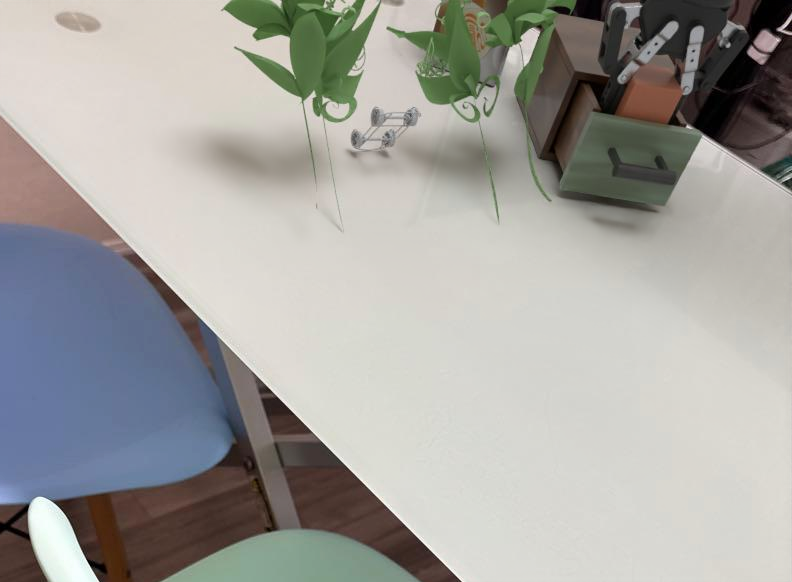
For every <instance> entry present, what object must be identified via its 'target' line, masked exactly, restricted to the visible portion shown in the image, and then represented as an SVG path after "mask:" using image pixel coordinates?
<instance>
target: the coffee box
mask: <svg viewBox="0 0 792 582" xmlns="http://www.w3.org/2000/svg"><path fill="white" fill-rule="evenodd" d="M459 1H460V5H461V6H462V5H463V0H459ZM469 1H470V0H469ZM469 1H468V2H469ZM508 1H509V0H472V2H471V3H470V4H468V3H466V4H465V6H464V9H463V12H464V13H463V14H464V17H465V20H466V22H467V25H468V28H469V31H470V35H471V39H472V43H473V45H474V47H475V49H476V50H477V53H478V55H479V59H480V66H481V72H480V78H479V82H480V83H481V84H482V83H483V82H484V81H485V79H486V78H487V77H489V76H490V75H497V76H498V77H499V78H500V77H501V75H502V73H503V71H504V69H505V64H506V61H507V58H508V54H509V51H510V49H511V47H507V46H506V45H500V46H497V47H495V48H492V47H489V46H487V45H485V42H486V41H487V39H488V38H489V37H490V36H491V35H492V34H487V33H484V32H485V29H486V28H483V29H481V28H479V27H478V26H477V18H478V17H477V14H478V13H480V12H484V11H485V12H486V13H488V14H489V15H490V22H489V24H490V23H491V21H492V20H493V19H494V18H495V17H496V16H498V15H499V14H501V13H503V14H504V12H505V10H506V9H507V3H508ZM441 2H442V1H441V0H440V3H441ZM448 3H449V0H446V1H445V2H443V3H442V4H441V5H440V6H439V7H438V12H437V14H436V15H437V17H438V18H440V19H442V18H443V17H444V16H445V14H446V10H447V6H448ZM486 16H487V15H484V16H482V17H480V18H479V21H478V23H479V25H480V26H482V27H483V26H485V25H486V24H487V22H488V18H486ZM443 20H445V18H444V19H443ZM443 23H444V22H443ZM432 31H433V32H438V33H441V34H444V35H445V29H444V25H442V23H441V21H439V20H438V19H437V18H435V23H434V25H433V30H432ZM429 55H430V53H429V54H428V59H429ZM426 56H427V55H426ZM431 56H432V54H431ZM431 56H430V58H431ZM437 58H438V57H437ZM433 59H434V60H435V62H436V63H437V61H436V60H437V59H436V58H435V57H434V56H433ZM433 59H431V61H430V62H429V61H428V60H427V63H428V64H429V65H430V64H433V67H436V68H438V67H437V66H436V64H435V63H434V61H433ZM438 59H440V58H438ZM425 61H426V57H425V60H424V63H425ZM442 61H443V60H442V59H440V62H442ZM445 63H446V62H444V64H445ZM444 64H443V66H444ZM437 65H438V63H437ZM441 65H442V63H441ZM439 69H441V66H440V67H439ZM444 69H445V68H444ZM444 69H443V70H444ZM445 71H447V72H449V65H447V68H446V70H445ZM485 85H488V86H491V87H494V86H496V82H495V80H493V79H491V80H489V81H488V82H487V83H486V84H485Z"/></svg>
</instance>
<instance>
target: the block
mask: <svg viewBox="0 0 792 582" xmlns="http://www.w3.org/2000/svg"><path fill="white" fill-rule="evenodd" d="M626 84H627V88H626V90H625V93H624V95H623V97H622V99H621V101H620V104H619V106H618V108H617V110H616V112H615V114H614V115H615V116H621V117H627V118H632V119H638V120H644V121H650V122H655V123H661V124H668V122H669V120H670V118H671V116H672V114H673V112H674V110H675V108H676V106H677V104H678V102H679V100H680V98H681V96H682V94H683V90H682V88H681V86H680V85H679V83H678V81H677V80H676V78H675V76H674V75H673V73H672V71H671V70H670V69H669V68H663V67H658V66H652V65H647V64H646V65H645V66H641V67H640V68H639V70H638V71H637V72H636V73H635V74H634V75H633V77H632V78H631V79H630V80H629V81H628V82H627V83H626Z"/></svg>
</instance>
